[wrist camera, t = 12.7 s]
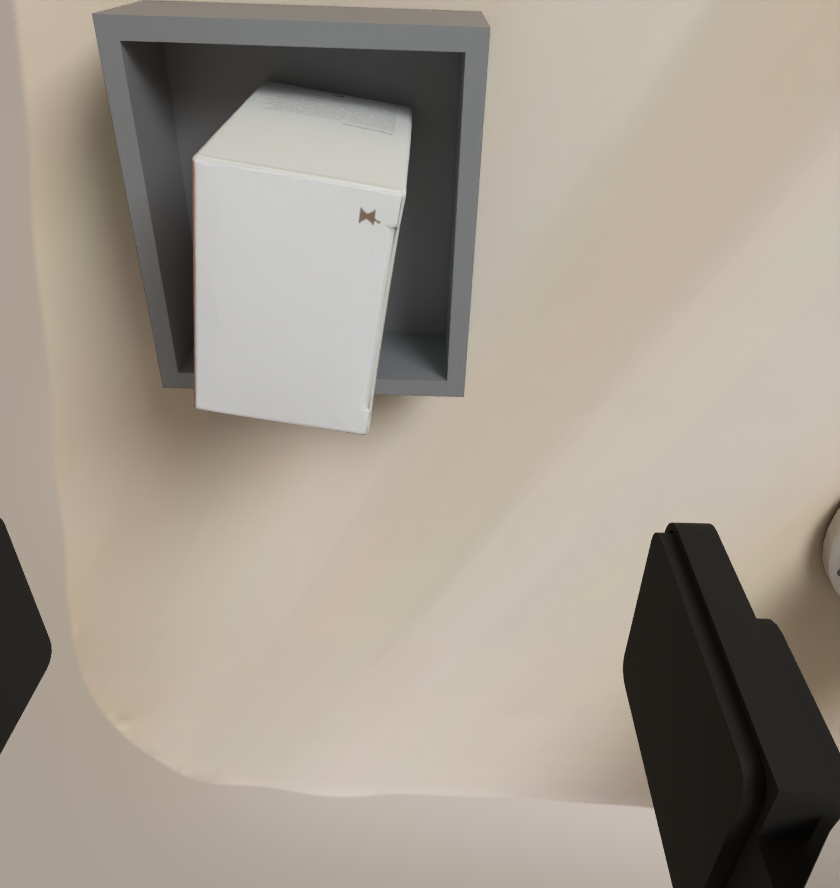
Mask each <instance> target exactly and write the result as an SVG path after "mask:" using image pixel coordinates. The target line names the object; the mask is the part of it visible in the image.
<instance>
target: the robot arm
mask: <svg viewBox="0 0 840 888" xmlns="http://www.w3.org/2000/svg"><path fill="white" fill-rule="evenodd" d="M822 561H823V564H824V568H825V572H826V575H827V577H828V578H829V580H830V582H831V584H832V586H833V587H834V589H835V591H836V592H837V593H838V595H839V596H840V508H839V509H838V511H837V512H836V514H835V516H834V518H833V520H832V521H831V523H830V525H829V527H828V529H827V533H826V536H825V539H824V543H823V557H822ZM51 652H52V650H51V642H50V639H49V636H48V634H47V631H46V629H45V626H44V623H43V621H42V618H41V616H40V613H39V611H38V608H37V606H36V603H35V601H34V598H33V595H32V593H31V590H30V588H29V585H28V583H27V580H26V578H25V575H24V572H23V570H22V567H21V565H20V562H19V560H18V557H17V554H16V552H15V549H14V547H13V544H12V542H11V539H10V537H9V534H8V532H7V529H6V526H5V524H4V522H3V521H2V519H0V753H1V752H2V750H3V748H4V746H5V744H6V742H7V741H8V739H9V737H10V735H11V733H12V732H13V730H14V728H15V726H16V724H17V722H18V721H19V719H20V717H21V715H22V713H23V711H24V710H25V708H26V706H27V704H28V702H29V700H30V699H31V697H32V695H33V693H34V691H35V690H36V688H37V686H38V684H39V682H40V680H41V678H42V677H43V675H44V673H45V671H46V669H47V667H48V665H49V662H50V658H51ZM623 676H624V683H625V688H626V692H627V696H628V701H629V705H630V709H631V713H632V717H633V722H634V726H635V730H636V734H637V739H638V743H639V747H640V751H641V755H642V760H643V764H644V768H645V772H646V776H647V781H648V785H649V789H650V793H651V797H652V802H653V806H654V810H655V814H656V818H657V823H658V827H659V831H660V835H661V839H662V844H663V848H664V852H665V856H666V860H667V865H668V869H669V873H670V877H671V882H672V886H673V888H840V752H839V750H838V748H837V746H836V744H835V742H834V740H833V738H832V736H831V734H830V731H829V729H828V727H827V725H826V723H825V721H824V719H823V717H822V715H821V713H820V711H819V709H818V707H817V704H816V702H815V700H814V698H813V696H812V694H811V692H810V690H809V688H808V686H807V684H806V682H805V680H804V677H803V675H802V673H801V671H800V669H799V667H798V665H797V663H796V661H795V659H794V657H793V655H792V653H791V650H790V648H789V646H788V644H787V642H786V640H785V638H784V636H783V634H782V632H781V631H780V629H779V628H778V626H777V624H775V623H774V622H773V621H772V620H770V619H756V617H755V614H754V612H753V610H752V608H751V606H750V603H749V601H748V599H747V597H746V595H745V592H744V590H743V588H742V586H741V584H740V581H739V579H738V577H737V575H736V573H735V570H734V568H733V566H732V564H731V562H730V559H729V557H728V555H727V553H726V551H725V548H724V546H723V544H722V542H721V540H720V537H719V535H718V533H717V531H716V529H715V528H714V526H713V525H711V524H705V523H669V524H668V526H667V527H666V530H665V533H655V534H654V535H653V537H652V540H651V544H650V549H649V553H648V557H647V561H646V566H645V570H644V574H643V578H642V583H641V587H640V591H639V595H638V600H637V604H636V608H635V612H634V617H633V621H632V625H631V630H630V634H629V638H628V642H627V647H626V651H625V655H624V661H623Z"/></svg>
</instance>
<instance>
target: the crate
mask: <svg viewBox="0 0 840 888" xmlns="http://www.w3.org/2000/svg"><path fill="white" fill-rule="evenodd" d="M92 16H93V22H94V27H95V32H96V37H97V43H98V48H99V53H100V58H101V64H102V69H103V74H104V79H105V85H106V90H107V95H108V100H109V106H110V111H111V116H112V121H113V127H114V132H115V137H116V142H117V148H118V153H119V158H120V164H121V169H122V174H123V179H124V185H125V190H126V195H127V200H128V206H129V211H130V216H131V221H132V227H133V232H134V237H135V242H136V248H137V253H138V258H139V263H140V269H141V274H142V279H143V284H144V290H145V295H146V300H147V305H148V311H149V316H150V321H151V326H152V332H153V337H154V342H155V347H156V353H157V358H158V363H159V368H160V374H161V379H162V384H163V388H193V389H194V305H193V205H192V158H193V156H194V155H195V154H196V153H197V152H198V151H199V150H200V149H201V148H202V147H203V146H204V145H205V144H206V143H207V142H208V140H209V139H210V138H211V137H212V136H213V135H214V134H215V133H216V132H217V131H218V130H219V129H220V128H221V127H222V125H223V124H224V123H225V122H226V121H227V120H228V119H229V118H230V117H231V116H232V115H233V114H234V113H235V112H236V111H237V110H238V109H239V108H240V107H241V106H242V104H243V103H244V102H245V101H246V100H247V99H248V98H249V97H250V96H251V95H252V94H253V93H254V92H255V91H256V90H257V89H258V88H259V87H260V86H261V85H262V83H263V82H265V81H272V82H277V83H282V84H288V85H293V86H299V87H305V88H310V89H315V90H321V91H326V92H331V93H337V94H342V95H347V96H353V97H358V98H363V99H369V100H374V101H379V102H385V103H390V104H395V105H401V106H407V107H410V108H411V109H412V127H411V142H410V155H409V163H408V173H407V184H406V199H405V203H404V208H403V213H402V218H401V223H400V228H399V234H398V240H397V247H396V253H395V259H394V265H393V271H392V277H391V284H390V290H389V297H388V303H387V310H386V316H385V323H384V329H383V336H382V342H381V349H380V355H379V362H378V369H377V376H376V383H375V390H374V394H383V395H415V396H447V397H464V387H465V373H466V359H467V345H468V331H469V317H470V303H471V289H472V275H473V261H474V247H475V234H476V220H477V206H478V192H479V178H480V164H481V150H482V136H483V122H484V108H485V94H486V80H487V66H488V52H489V38H490V26H489V24H488V22H487V21H486V19H485V17H484V15H483V14H482V12H478V11H448V10H419V9H390V8H360V7H331V6H302V5H272V4H243V3H214V2H185V1H155V0H143V1H139V2H135V3H131V4H127V5H123V6H120V7H116V8H112V9H108V10H104V11H100V12H96V13H92Z"/></svg>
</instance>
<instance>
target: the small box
mask: <svg viewBox="0 0 840 888" xmlns="http://www.w3.org/2000/svg"><path fill="white" fill-rule="evenodd" d="M411 127H412V109H411V108H410V107H407V106H401V105H395V104H390V103H385V102H379V101H374V100H369V99H363V98H358V97H353V96H347V95H342V94H337V93H331V92H326V91H321V90H315V89H310V88H305V87H299V86H293V85H288V84H282V83H277V82H272V81H265V82H263V83H262V85H261V86H260V87H259V88H258V89H257V90H256V91H255V92H254V93H253V94H252V95H251V96H250V97H249V98H248V99H247V100H246V101H245V102H244V103H243V104H242V106H241V107H240V108H239V109H238V110H237V111H236V112H235V113H234V114H233V115H232V116H231V117H230V118H229V119H228V120H227V121H226V122H225V123H224V124H223V125H222V127H221V128H220V129H219V130H218V131H217V132H216V133H215V134H214V135H213V136H212V137H211V138H210V139H209V140H208V142H207V143H206V144H205V145H204V146H203V147H202V148H201V149H200V150H199V151H198V152H197V153H196V154H195V155H194V156H193V158H192V205H193V305H194V407H195V408H196V409H200V410H207V411H213V412H218V413H224V414H230V415H237V416H244V417H251V418H257V419H264V420H270V421H277V422H283V423H290V424H297V425H303V426H310V427H317V428H323V429H330V430H336V431H342V432H348V433H354V434H360V435H365V434H367V433H368V432H369V429H370V422H371V413H372V405H373V398H374V390H375V383H376V376H377V369H378V362H379V355H380V349H381V342H382V336H383V329H384V323H385V316H386V310H387V303H388V297H389V290H390V284H391V277H392V271H393V265H394V259H395V253H396V247H397V240H398V234H399V228H400V223H401V218H402V213H403V208H404V203H405V199H406V184H407V173H408V163H409V155H410V142H411Z"/></svg>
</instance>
